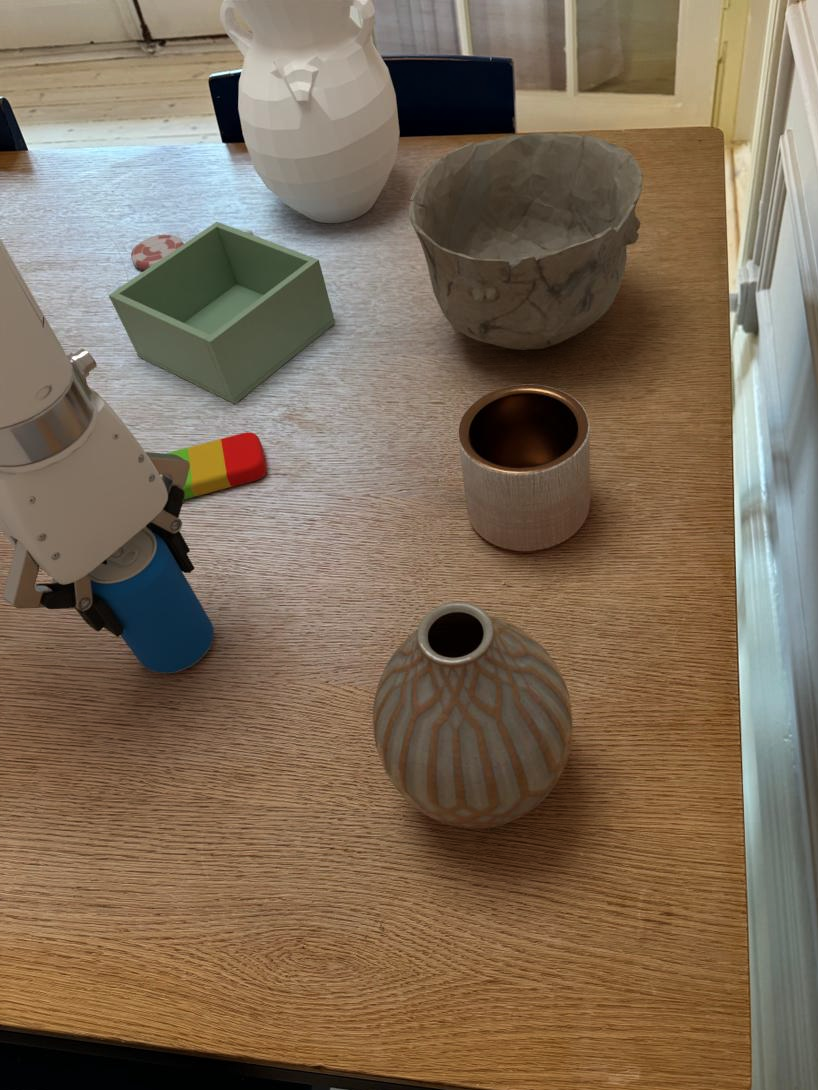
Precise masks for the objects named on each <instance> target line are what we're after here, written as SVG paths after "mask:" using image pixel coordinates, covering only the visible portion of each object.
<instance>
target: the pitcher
mask: <svg viewBox="0 0 818 1090" xmlns="http://www.w3.org/2000/svg"><path fill="white" fill-rule="evenodd" d="M352 6H353V7H354V8H355V9H356V10H357V11H358V12H359V14H360V16H361V19H362V22H361V23H362V24H361V26H362V27H360V25H358V24H357V22H355V21H354V19H352V17H351V16H350V15H351V7H352ZM234 9H237V12H238V13H239V14H240V16H241V17H242V19H243V20H244V22H245V23H246V24H247V27H248V28H249V30H250V31H248V30H245V29H244V28H243V26H242V25H241V24H240V23H239V22H238V20H237V17H236V14H235V11H234ZM219 20H220V24H221V26H222V28H223V29H224V31H225V33H226V35H227V36H228V37H229V38H230V41H232V42H233V43H234V44H235V46H236V47H237V48H238V50H239V51H240V53H241V54H242V56H243V63H242V68H241V72H240V77H239V79H238V97H237V98H238V100H237V101H238V102H237V104H238V105H237V106H238V107H237V110H238V115H239V120H240V125H241V126H240V127H241V131H242V136H243V140H244V144H245V146H246V149H247V152H248V155H249V158H250V161H251V163H252V167H253V168H254V171H255V173H256V174H257V175H258V177H259V178H260V179H261V181H262V183H263V184H264V185H265V187H266V188H267V189H268V190H269V191H270V192H271V193H273V195H275V196H276V197H277V198H278V199H279V200H281V201H282V202H283V203H284V204H286V206H288V207H290V208H291V209H293V210H295V211H296V212H297V213H300V214H302V215H303V216H305V217H306V218H308V219H310V220H311V221H314V222H317V223H322V224H323V223H324V224H339V223H345V222H350V221H353V220H356V219H357V218H359V217H362V216H364V215H365V214H366V213H367V212H369V211H370V210H371V209H372V208H373V206H374V205H375V204H376V202H377V200H378V198H379V197H380V195H381V192H382V191H383V190H384V187H385V185H386V184H387V181H388V179H389V177H390V174H391V172H392V170H393V168H394V165H395V163H396V159H397V157H398V149H399V142H400V141H399V140H400V133H401V132H400V125H399V124H400V123H399V117H398V116H399V113H398V104H397V95H396V91H395V88H394V84H393V81H392V77H391V74H390V70H389V67H388V66H387V64H386V63H385V61H384V60H383V57H382V56H381V54H380V52H379V51H378V49H377V48H376V46H375V45H374V44H373V42H372V40H371V37H372V34H373V31H374V27H375V24H376V9H375V6H374V3H373V2H372V0H223V1H222V4H221V5H220V8H219Z"/></svg>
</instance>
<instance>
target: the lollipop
mask: <svg viewBox="0 0 818 1090" xmlns="http://www.w3.org/2000/svg"><path fill="white" fill-rule="evenodd" d="M245 232H246V233H249V234H251V235H254V231H253V230H247V231H245ZM183 244H185V242H184V241H183V240H182V239H181V238H180V237H178V236H177V235H172V234H160V235H155V236H151V237H148V238H145V239H143V240H142V241H140V242H139V243H138V244H136V245H135V246H134V247H133V248H132V250H131V252H130V260H131V262H132V263H133V265H134V266H135V267H136V268H137V269H139V270H142V271H145V270H146V269H148V268H149V267H151V266H152V265H154V264H155V263H157V262H158V261H160V260H161V259H163V258H164V257H165V256H167V255H168V254H170V253H171V252H173V251H174V250H176V249H177V248H179V247H180V246H182V245H183Z"/></svg>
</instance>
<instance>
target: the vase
mask: <svg viewBox="0 0 818 1090" xmlns="http://www.w3.org/2000/svg"><path fill="white" fill-rule="evenodd" d="M573 719H574V718H573V709H572V704H571V697H570V693H569V689H568V687H567V684H566V682H565V679H564V677H563V674H562V672H561V670H560V669H559V667H558V665H557V663H556V662H555V661H554V659H553V658H552V656H551V655H550V654H549V653H548V652H547V650H546V649H545V648H544V646H543V645H541V643H540V642H538V641H537V640H536V639H535V638H534V637H533V636H532V635H530V634H529V633H528V632H526V631H525V630H524V629H522V628H521V627H519V626H517V625H515V624H513V623H511V622H509V621H507V620H504V619H502V618H500V617H498V616H493V615H489V614H488V613H487V611H486V610H484V609H483V608H482V607H480V606H478V605H476V604H473V603H470V602H465V601H451V602H445V603H442V604H440V605H438V606H436V607H435V608H433V609H431V610H430V611H428V612H427V613H426V615H424V617H423V618H422V619H421V621H420V623H419V625H418V627H417V629H416V630H415V631H414V632H412V633H411V634H410V635H409V636H408V637H407V638H406V639H405V640H403V642H402V643H401V644H400V645H399V646H398V647H397V649H396V650H395V651H394V652H393V654H392V655H391V656H390V658H389V660H388V662H387V664H386V666H385V667H384V669H383V672H382V674H381V676H380V678H379V681H378V684H377V688H376V691H375V696H374V700H373V708H372V730H373V737H374V742H375V747H376V750H377V753H378V757H379V760H380V762H381V765H382V767H383V769H384V772H385V773H386V775H387V777H388V779H389V781H390V782H391V784H392V785H393V787H394V788H395V789H396V791H397V792H398V793H399V794H400V796H401V797H402V798H403V799H404V800H405V801H406V802H407V803H408V804H409V805H411V806H412V807H413V808H414V809H416V810H417V811H418V812H420V813H422V814H423V815H425V816H426V817H428V818H431V819H432V820H435V821H437V822H439V823H442V824H444V825H447V826H451V827H455V828H456V827H457V828H460V829H469V830H470V829H474V830H477V829H479V830H480V829H481V830H482V829H490V828H491V829H492V828H495V827H500V826H503V825H506V824H509V823H512V822H513V821H516V820H517V819H519V818H522V817H524V816H525V815H526V814H528V813H529V812H531V811H532V810H534V809H535V808H536V807H538V806H539V805H540V804H541V803H542V802H543V801H544V800H545V799H546V798H547V797H548V796H549V794H550V793H551V792H552V791H553V789H554V788H555V786H556V785H557V783H558V782H559V780H560V778H561V777H562V775H563V773H564V771H565V769H566V766H567V764H568V761H569V757H570V753H571V749H572V743H573V732H574V720H573Z"/></svg>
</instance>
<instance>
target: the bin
mask: <svg viewBox="0 0 818 1090" xmlns="http://www.w3.org/2000/svg"><path fill="white" fill-rule="evenodd" d="M108 298H109V300H110V301H111V303H112V305H113V308H114V310H115V312H116V314H117V316H118V318H119V321H120V322H121V324H122V326H123V328H124V330H125V332H126V334H127V337H128V338H129V340H130V342H131V345H132V346H133V348H134V350H135V352H136V355H137V357H138V358H140V359H142V360H145V361H147V362H148V363H151V364H153V365H155V366H157V367H159V368H161V369H163V370H165V371H167V372H168V373H171V374H173V375H175V376H177V377H179V378H181V379H183V380H185V381H187V382H189V383H191V384H194V385H195V386H198V387H200V388H201V389H203V390H206V391H207V392H210V393H211V394H214V395H216V396H218V397H219V398H222V399H224V400H226V401H228V402H230V403H232V404H234V405H236V404H237V403H238V402H240V401H241V400H242V399H244V398H245V397H247V395H248V394H250V393H251V392H252V391H253V390H255V389H256V388H257V387H258V386H259V385H261V384H262V383H263V382H264V381H266V380H267V379H268V378H270V376H272V375H273V374H274V373H276V372H277V371H278V370H279V369H280V368H282V367H283V366H284V365H285V364H287V363H288V362H290V361H291V359H293V358H294V357H295V356H296V355H298V354H299V353H300V352H301V351H303V350H304V349H305V348H306V347H308V346H309V345H310V344H311V343H313V342H314V341H315V340H317V338H319V337H320V336H321V335H323V334H324V333H325V332H327V330H329V329H330V328H331V327H332V326H334V325H335V324H336V321H335V316H334V313H333V308H332V305H331V301H330V296H329V293H328V290H327V286H326V282H325V278H324V274H323V271H322V267H321V262H320V260H319V258H315V257H312V256H310V255H307V254H305V253H303V252H299V251H297V250H293V249H291V248H289V247H286V246H283V245H280V244H278V243H275V242H273V241H270V240H267V239H264V238H262V237H260V236H257V235H255V234H253V235H251V234H249V233H246V231H243V230H241V229H238V228H235V227H232V226H230V225H227V224H224V223H222V222H219V221H215V222H214V223H212V224H211V225H210V226H208V227H206V228H204V229H203V230H202V231H201V232H199V233H198V234H196V235H195V236H194V237H192V238H190V239H189V240H187V241H186V242H184V244H183V245H182V246H180V247H179V248H177V249H176V250H174V251H173V252H171V253H170V254H168V255H167V256H165V257H164V258H163V259H161V260H160V261H158V262H157V263H155V264H154V265H152V266H151V267H149V268H148V269H146V270H142V272H140V273H139V274H138V275H136V276H134V277H133V278H132V279H129V281H127V282H126V283H124V284H123V285H122V286H120V287H119V288H117V289H115V290H114V291H113V292H111V293H110V294H108Z"/></svg>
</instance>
